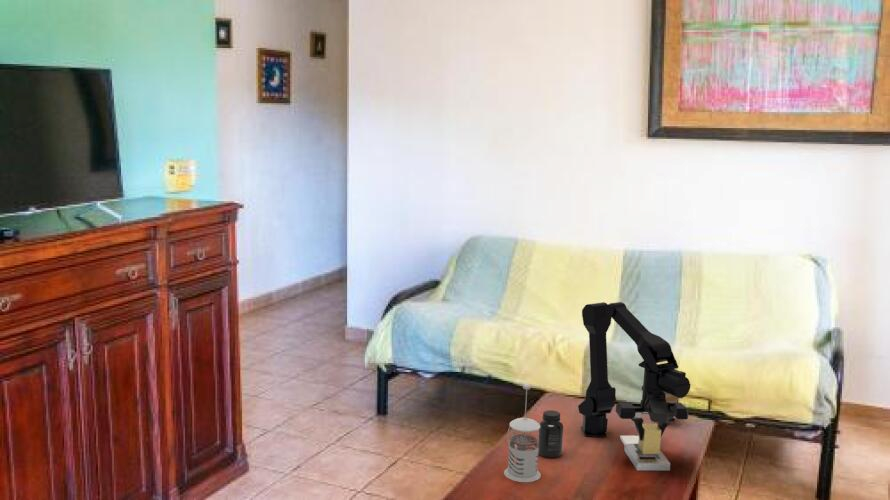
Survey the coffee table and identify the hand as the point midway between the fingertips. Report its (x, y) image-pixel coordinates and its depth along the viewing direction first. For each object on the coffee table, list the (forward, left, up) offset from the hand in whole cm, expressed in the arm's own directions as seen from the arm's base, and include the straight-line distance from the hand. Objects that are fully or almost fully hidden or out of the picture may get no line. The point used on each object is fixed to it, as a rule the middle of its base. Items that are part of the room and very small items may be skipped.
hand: (649, 440), depth 229 cm
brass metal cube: (0, 0, -3) cm, 3 cm away
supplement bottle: (-26, +5, -7) cm, 28 cm away
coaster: (+1, +12, -6) cm, 14 cm away
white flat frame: (0, +1, -6) cm, 6 cm away
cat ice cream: (+14, +28, -7) cm, 32 cm away
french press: (-36, -7, -7) cm, 38 cm away
